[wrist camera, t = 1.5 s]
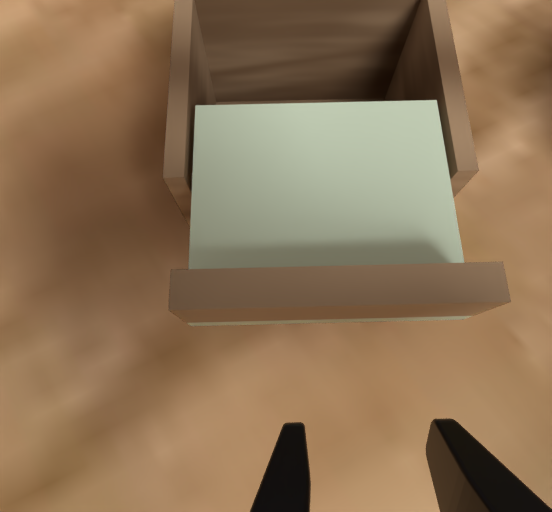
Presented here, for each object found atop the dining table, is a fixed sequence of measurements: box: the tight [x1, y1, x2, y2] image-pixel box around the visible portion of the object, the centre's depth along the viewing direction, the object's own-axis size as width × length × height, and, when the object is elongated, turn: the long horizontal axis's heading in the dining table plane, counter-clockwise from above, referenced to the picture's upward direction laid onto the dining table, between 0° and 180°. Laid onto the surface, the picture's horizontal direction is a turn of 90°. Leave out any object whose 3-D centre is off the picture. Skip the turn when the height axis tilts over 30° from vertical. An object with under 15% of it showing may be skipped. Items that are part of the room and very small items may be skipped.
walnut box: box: [163, 0, 479, 227], centre depth 21 cm, size 10×12×8 cm
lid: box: [169, 100, 511, 326], centre depth 15 cm, size 9×10×3 cm
